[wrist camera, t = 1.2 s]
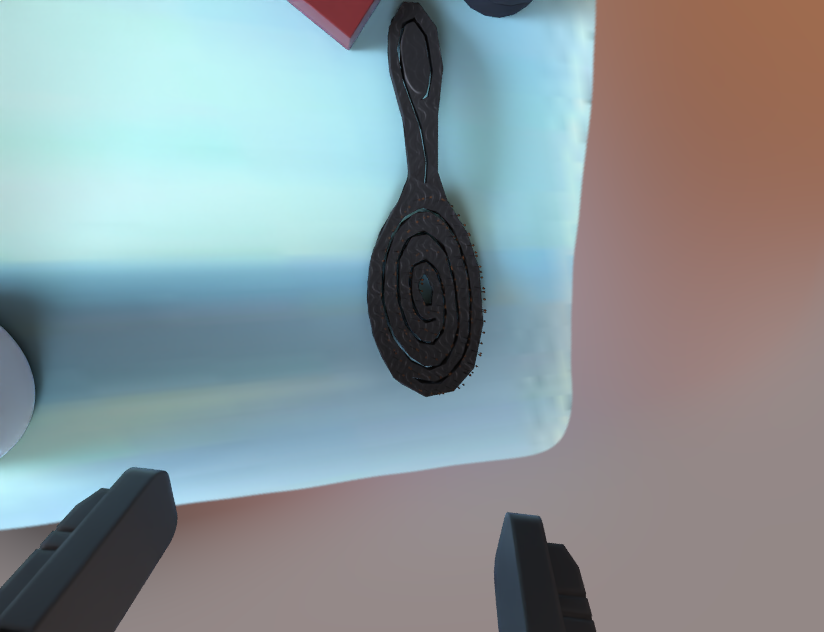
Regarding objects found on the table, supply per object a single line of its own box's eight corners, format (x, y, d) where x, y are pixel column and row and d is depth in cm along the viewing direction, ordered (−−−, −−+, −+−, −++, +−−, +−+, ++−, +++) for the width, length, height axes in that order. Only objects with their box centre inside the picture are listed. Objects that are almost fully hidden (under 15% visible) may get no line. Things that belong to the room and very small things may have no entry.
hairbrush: (486, -15, 26) (498, 393, 31) (468, 14, 30) (481, 376, 35) (341, -17, 25) (379, 409, 30) (340, 13, 28) (374, 389, 34)
